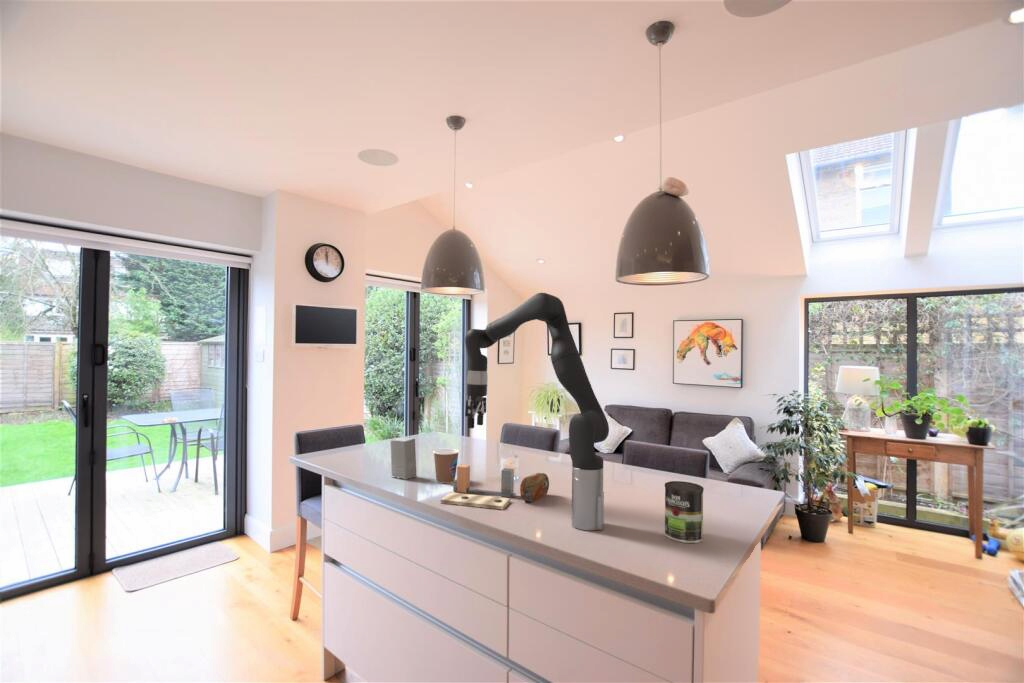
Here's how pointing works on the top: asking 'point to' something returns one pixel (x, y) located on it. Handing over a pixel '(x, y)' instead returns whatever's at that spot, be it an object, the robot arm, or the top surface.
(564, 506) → the top surface
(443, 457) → the coffee cup
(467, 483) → the block
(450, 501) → the hole board
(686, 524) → the coffee can
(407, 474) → the skincare box
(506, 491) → the dividers rail
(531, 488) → the brown rounded flat piece
